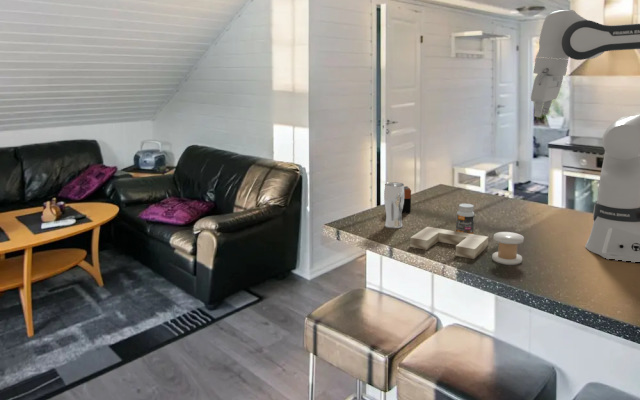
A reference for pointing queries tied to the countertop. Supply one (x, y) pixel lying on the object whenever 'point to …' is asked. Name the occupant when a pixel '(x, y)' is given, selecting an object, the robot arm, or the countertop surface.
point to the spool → (507, 248)
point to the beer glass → (394, 204)
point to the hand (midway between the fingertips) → (541, 115)
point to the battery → (407, 200)
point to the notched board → (450, 241)
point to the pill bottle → (465, 219)
